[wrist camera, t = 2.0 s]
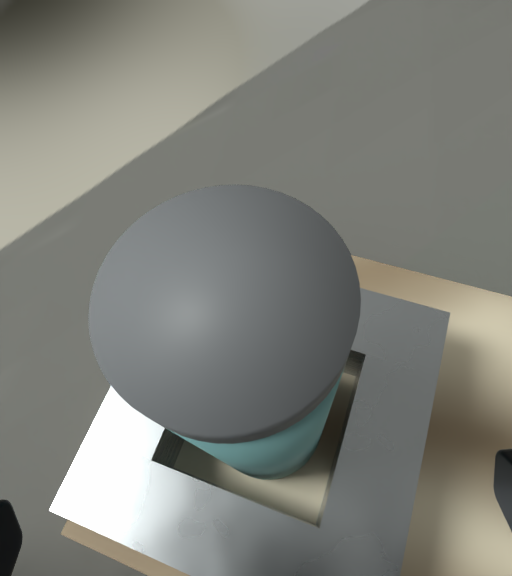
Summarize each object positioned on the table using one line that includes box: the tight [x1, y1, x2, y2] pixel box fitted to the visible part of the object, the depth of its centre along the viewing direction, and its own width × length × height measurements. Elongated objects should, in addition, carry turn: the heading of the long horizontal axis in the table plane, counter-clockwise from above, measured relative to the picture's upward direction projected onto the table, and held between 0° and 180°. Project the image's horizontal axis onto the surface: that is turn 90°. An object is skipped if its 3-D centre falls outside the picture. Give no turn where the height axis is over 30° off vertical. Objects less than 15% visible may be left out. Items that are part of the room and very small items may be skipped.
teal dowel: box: [88, 185, 361, 480], centre depth 12 cm, size 4×4×12 cm
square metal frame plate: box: [49, 288, 450, 576], centre depth 16 cm, size 11×11×3 cm
